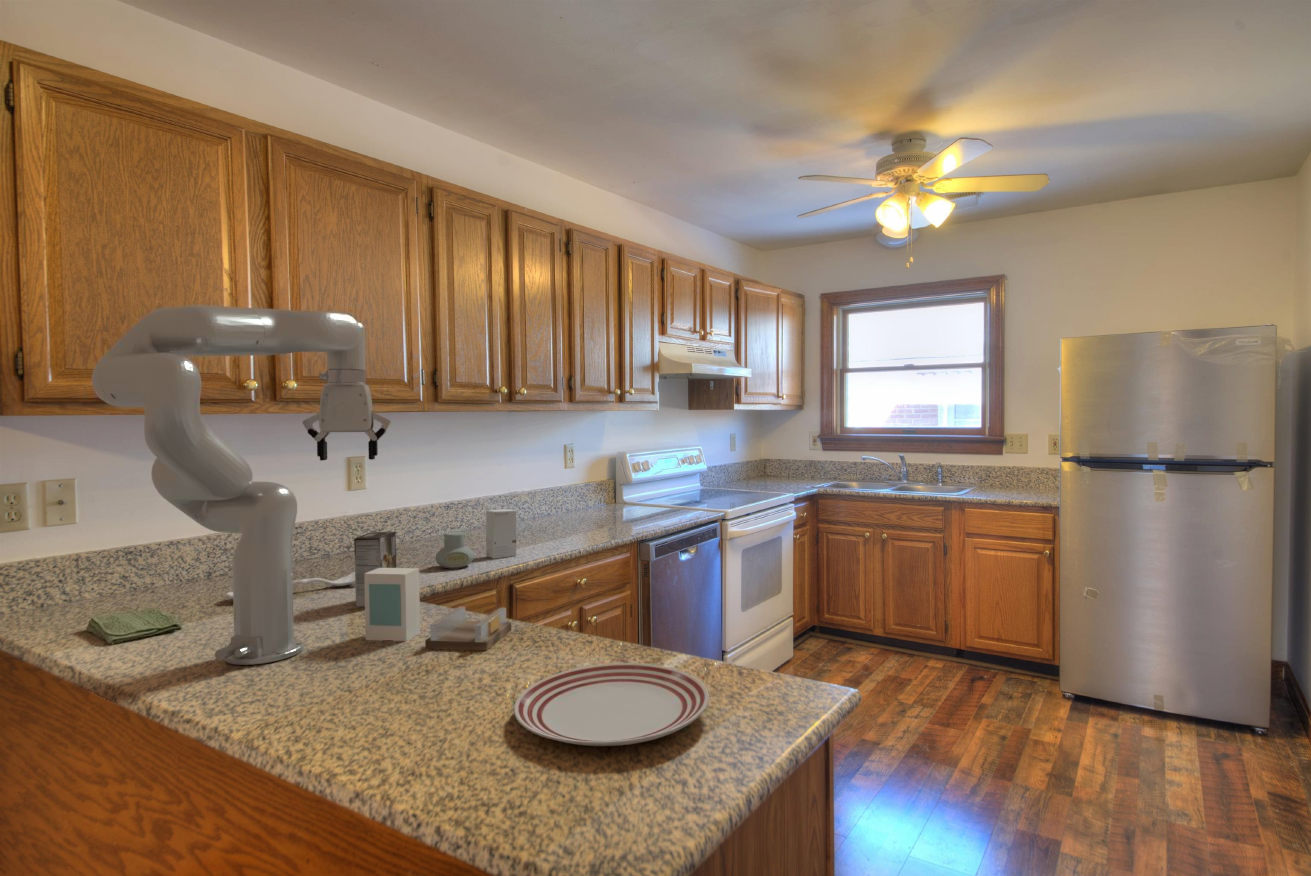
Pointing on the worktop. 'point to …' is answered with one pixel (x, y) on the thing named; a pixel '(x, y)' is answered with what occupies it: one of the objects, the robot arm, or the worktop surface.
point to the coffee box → (372, 558)
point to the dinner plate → (611, 704)
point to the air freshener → (454, 551)
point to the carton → (392, 604)
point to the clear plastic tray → (458, 618)
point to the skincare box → (500, 533)
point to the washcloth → (132, 625)
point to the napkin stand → (467, 638)
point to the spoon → (339, 582)
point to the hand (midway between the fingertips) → (347, 459)
